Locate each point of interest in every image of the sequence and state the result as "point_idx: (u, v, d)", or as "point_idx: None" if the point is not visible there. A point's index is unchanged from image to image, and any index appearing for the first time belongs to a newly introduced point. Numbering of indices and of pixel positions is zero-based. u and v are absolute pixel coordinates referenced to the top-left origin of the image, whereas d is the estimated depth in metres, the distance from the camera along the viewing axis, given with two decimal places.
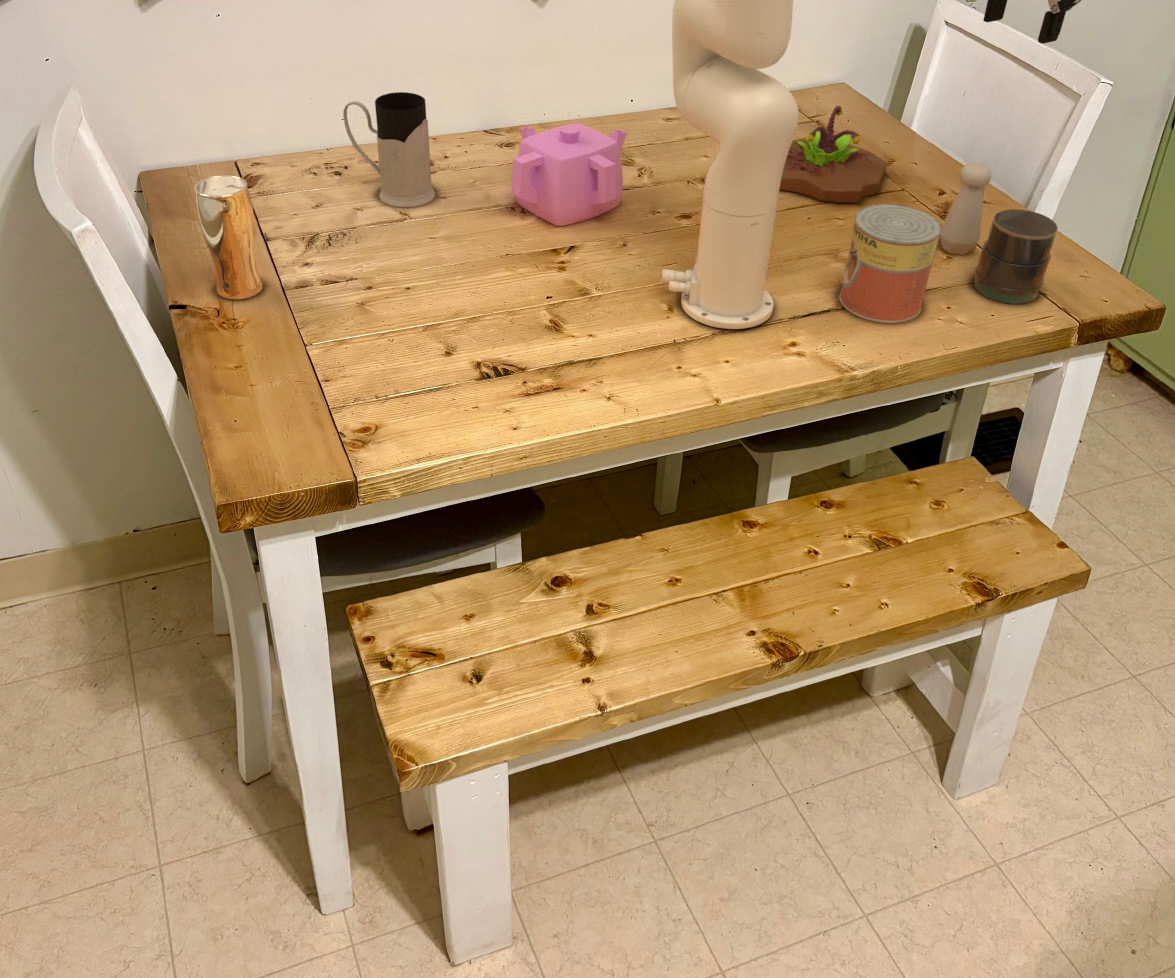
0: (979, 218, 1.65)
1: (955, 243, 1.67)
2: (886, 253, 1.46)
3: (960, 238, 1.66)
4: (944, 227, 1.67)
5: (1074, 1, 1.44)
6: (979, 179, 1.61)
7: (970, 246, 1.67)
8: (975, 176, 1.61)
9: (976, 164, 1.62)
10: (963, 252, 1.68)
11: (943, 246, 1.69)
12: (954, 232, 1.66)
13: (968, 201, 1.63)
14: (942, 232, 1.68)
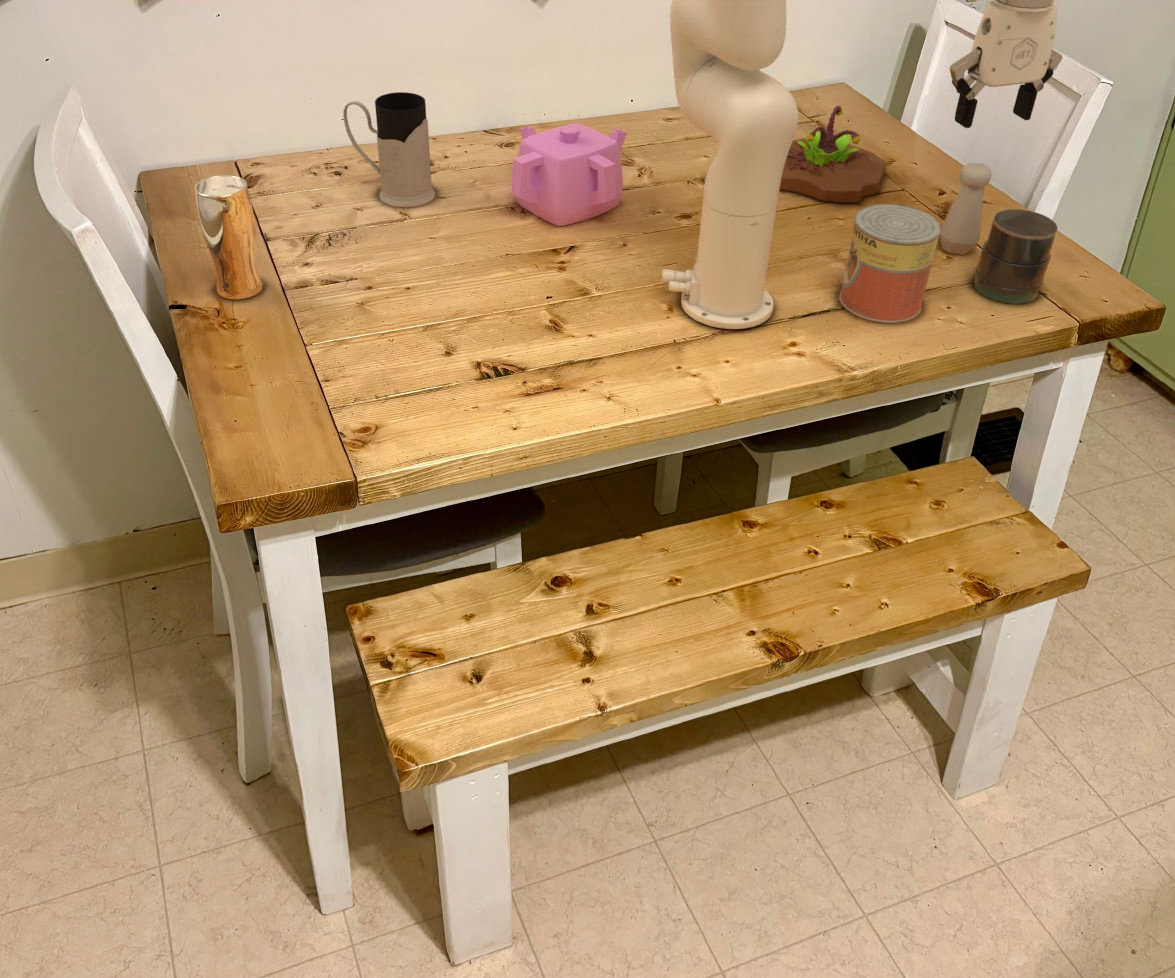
0: (979, 218, 1.65)
1: (955, 243, 1.67)
2: (886, 253, 1.46)
3: (960, 238, 1.66)
4: (944, 227, 1.67)
5: None
6: (979, 179, 1.61)
7: (970, 246, 1.67)
8: (975, 176, 1.61)
9: (976, 164, 1.62)
10: (963, 252, 1.68)
11: (943, 246, 1.69)
12: (954, 232, 1.66)
13: (968, 201, 1.63)
14: (942, 232, 1.68)
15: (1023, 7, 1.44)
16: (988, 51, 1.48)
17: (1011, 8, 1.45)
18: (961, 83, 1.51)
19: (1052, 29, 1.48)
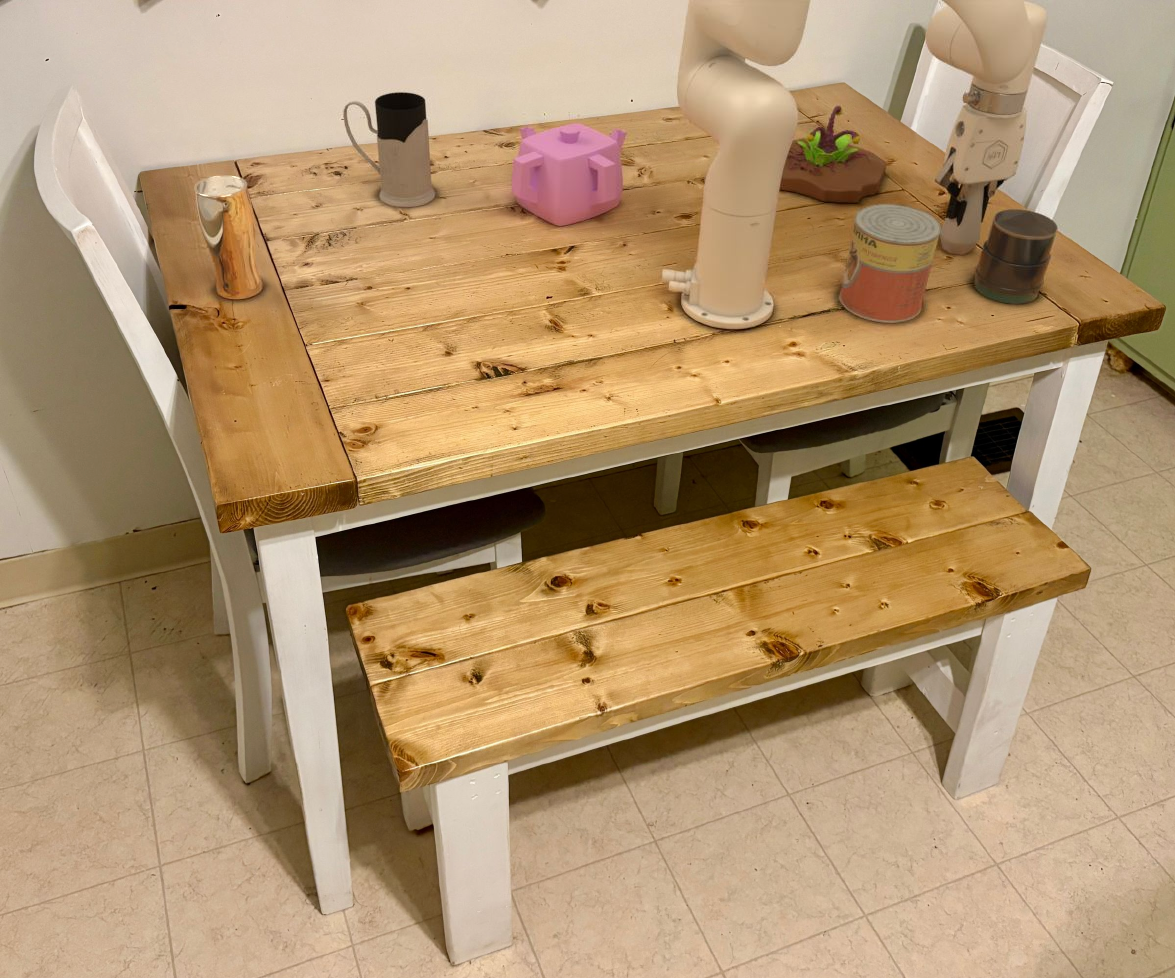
0: (979, 218, 1.65)
1: (955, 243, 1.67)
2: (886, 253, 1.46)
3: (959, 238, 1.66)
4: (944, 227, 1.67)
5: None
6: None
7: (970, 246, 1.67)
8: None
9: None
10: (963, 252, 1.68)
11: (943, 246, 1.69)
12: (954, 232, 1.66)
13: (968, 201, 1.63)
14: (942, 232, 1.68)
15: (994, 113, 1.53)
16: (961, 152, 1.57)
17: (983, 114, 1.54)
18: (952, 187, 1.61)
19: (1022, 132, 1.57)
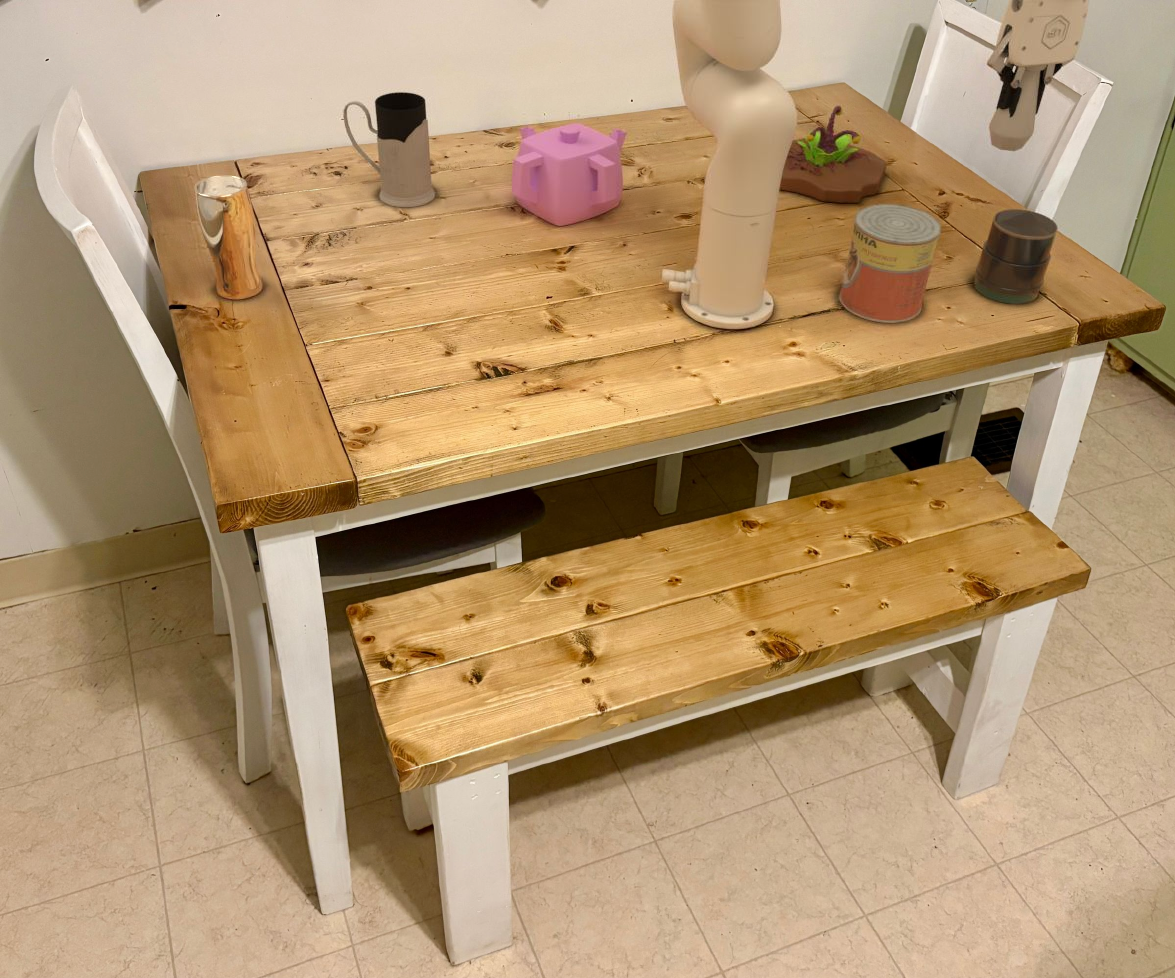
0: (1034, 108, 1.50)
1: (1007, 137, 1.51)
2: (886, 253, 1.46)
3: (1012, 131, 1.51)
4: (994, 120, 1.52)
5: None
6: None
7: (1023, 140, 1.52)
8: None
9: None
10: (1015, 148, 1.53)
11: (992, 142, 1.54)
12: (1006, 124, 1.51)
13: (1023, 88, 1.48)
14: (992, 126, 1.53)
15: None
16: (1018, 29, 1.42)
17: None
18: (1006, 71, 1.46)
19: (1085, 7, 1.42)
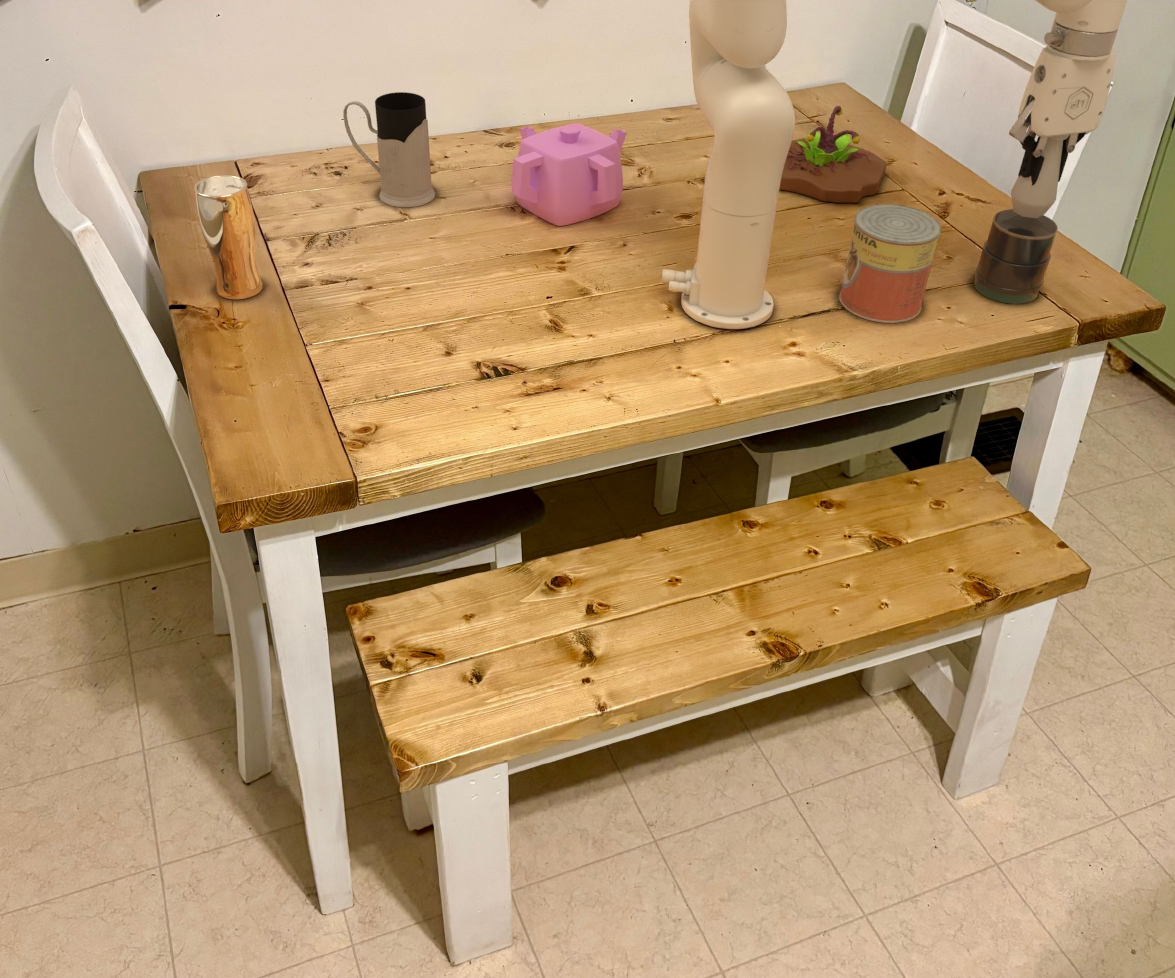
0: (1056, 176, 1.49)
1: (1029, 205, 1.50)
2: (886, 253, 1.46)
3: (1034, 199, 1.49)
4: (1016, 187, 1.51)
5: None
6: None
7: (1045, 208, 1.50)
8: None
9: None
10: (1037, 215, 1.51)
11: (1014, 209, 1.53)
12: (1028, 192, 1.49)
13: (1045, 157, 1.47)
14: (1014, 193, 1.51)
15: (1080, 55, 1.36)
16: (1041, 100, 1.40)
17: (1067, 56, 1.37)
18: (1028, 140, 1.45)
19: (1109, 78, 1.41)
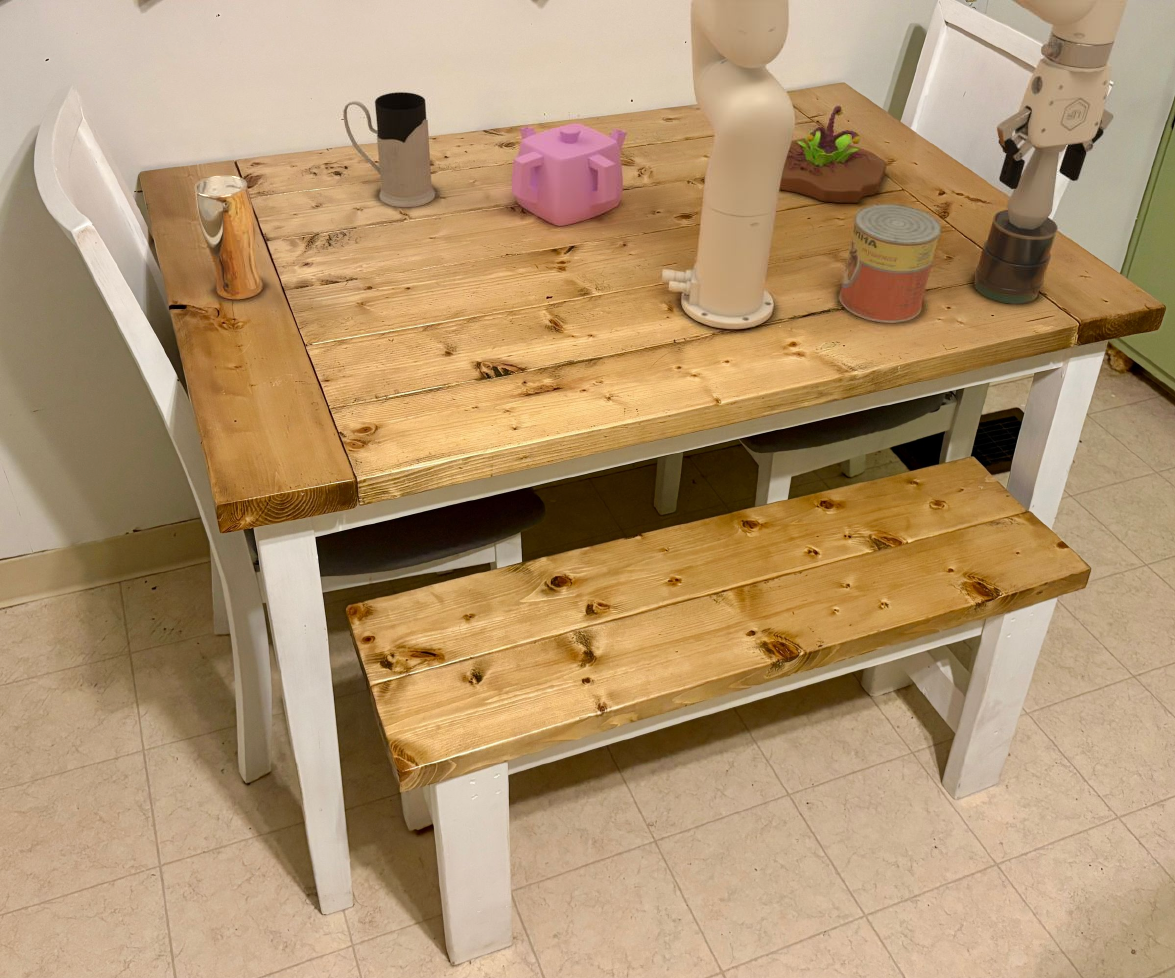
0: (1052, 188, 1.50)
1: (1025, 216, 1.51)
2: (886, 253, 1.46)
3: (1030, 211, 1.50)
4: (1012, 199, 1.52)
5: None
6: None
7: (1041, 220, 1.51)
8: None
9: None
10: (1033, 226, 1.52)
11: (1010, 220, 1.54)
12: (1024, 204, 1.50)
13: (1041, 169, 1.48)
14: (1010, 204, 1.52)
15: (1077, 67, 1.37)
16: (1038, 111, 1.41)
17: (1064, 67, 1.38)
18: (1009, 144, 1.44)
19: (1105, 89, 1.42)
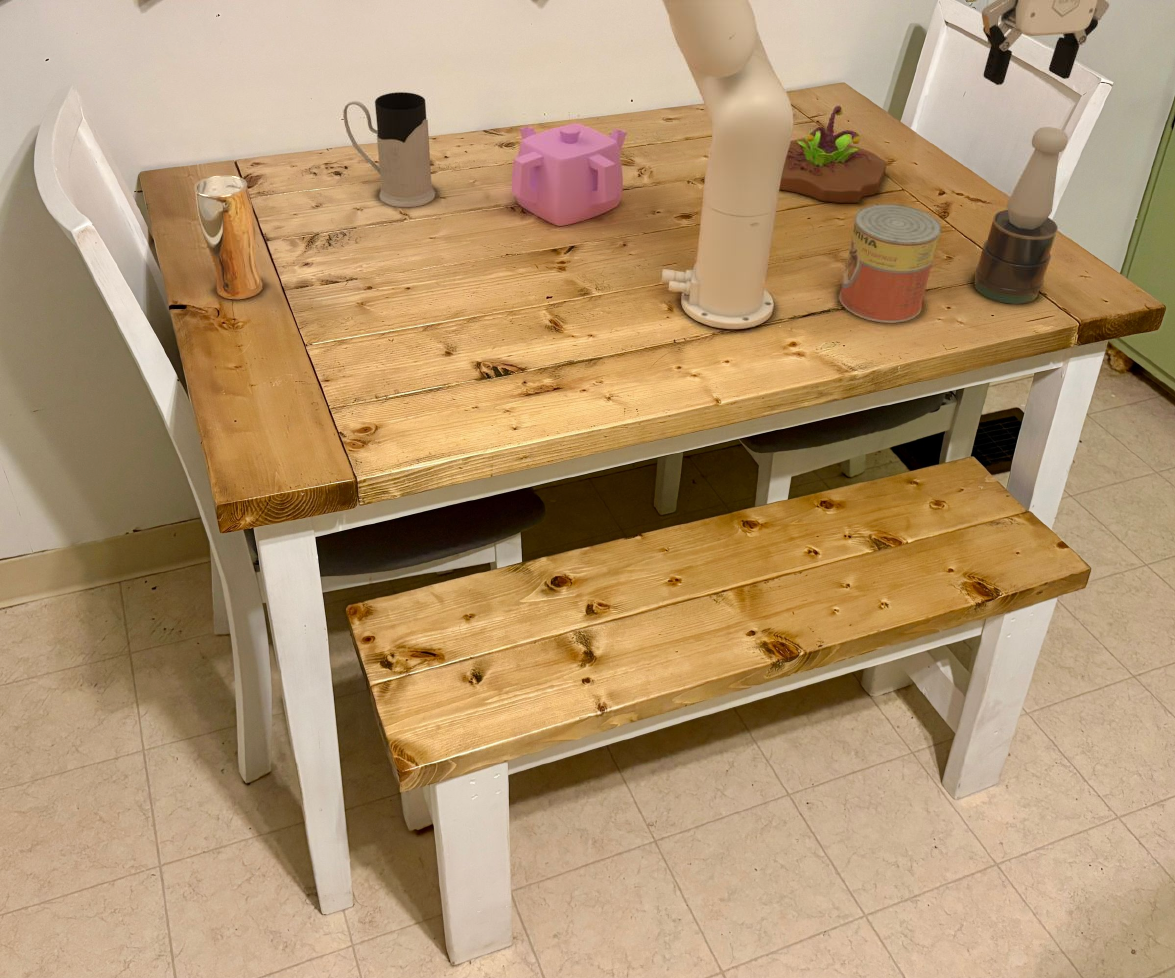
0: (1052, 188, 1.50)
1: (1025, 216, 1.51)
2: (886, 253, 1.46)
3: (1030, 211, 1.50)
4: (1012, 199, 1.52)
5: None
6: (1055, 145, 1.45)
7: (1041, 220, 1.51)
8: (1050, 141, 1.45)
9: (1050, 128, 1.47)
10: (1033, 226, 1.52)
11: (1010, 220, 1.54)
12: (1024, 204, 1.50)
13: (1041, 169, 1.48)
14: (1010, 204, 1.52)
15: None
16: None
17: None
18: (994, 31, 1.30)
19: None
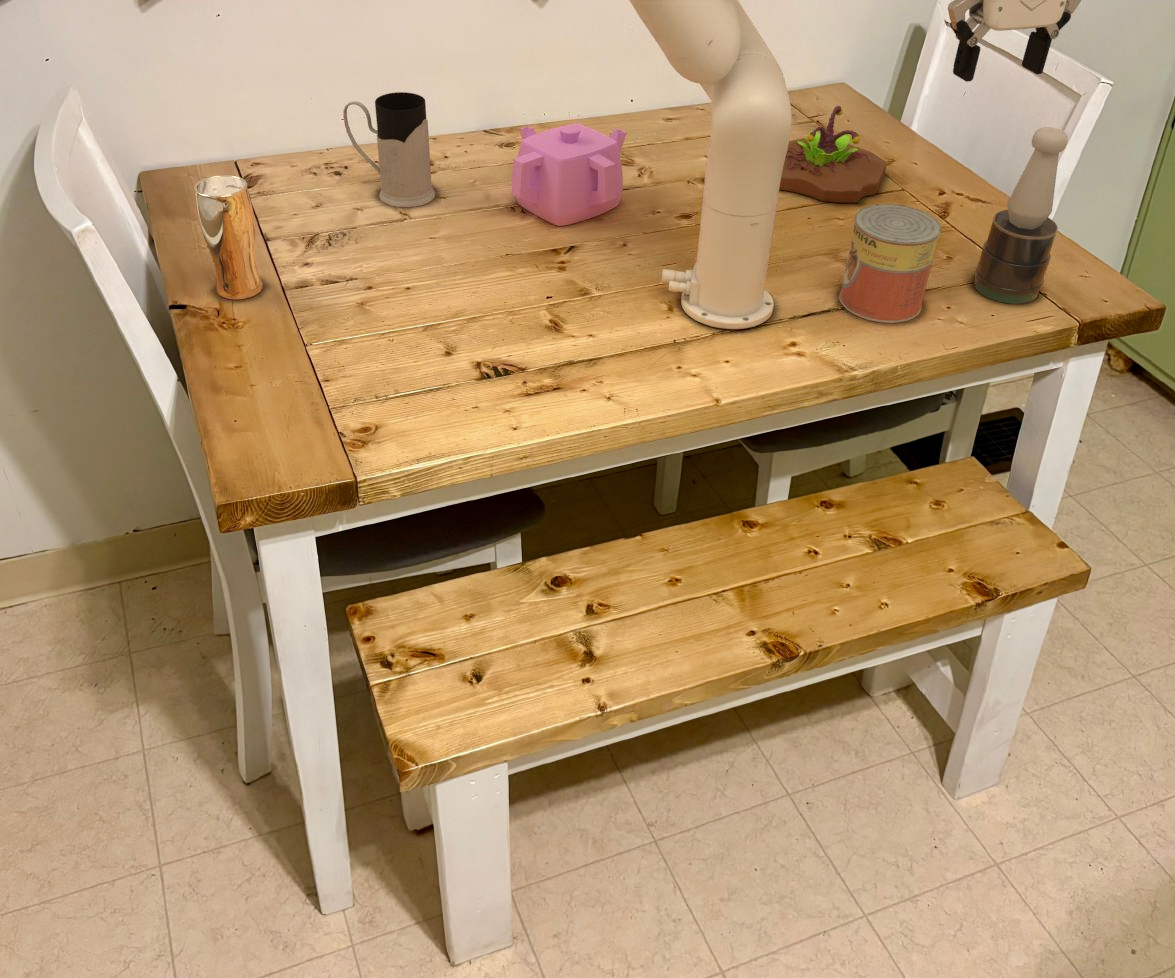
0: (1052, 188, 1.50)
1: (1025, 216, 1.51)
2: (886, 253, 1.46)
3: (1030, 211, 1.50)
4: (1012, 199, 1.52)
5: None
6: (1055, 145, 1.45)
7: (1041, 220, 1.51)
8: (1050, 141, 1.45)
9: (1050, 128, 1.47)
10: (1033, 226, 1.52)
11: (1010, 220, 1.54)
12: (1024, 204, 1.50)
13: (1041, 169, 1.48)
14: (1010, 204, 1.52)
15: None
16: None
17: None
18: (961, 26, 1.26)
19: None
